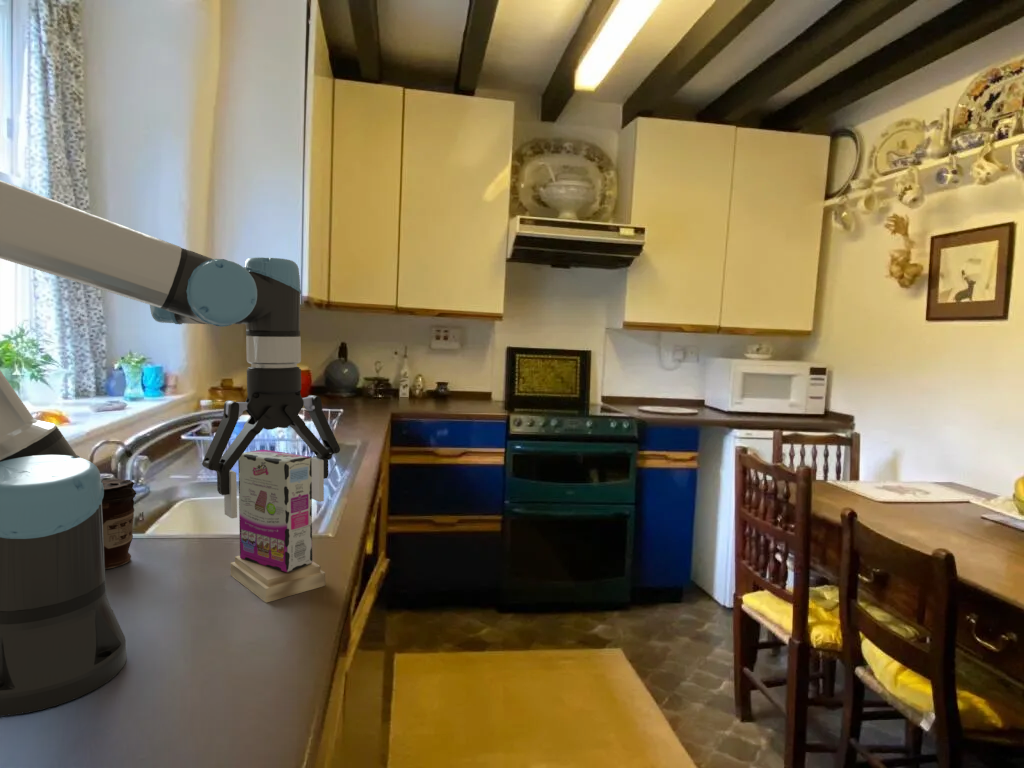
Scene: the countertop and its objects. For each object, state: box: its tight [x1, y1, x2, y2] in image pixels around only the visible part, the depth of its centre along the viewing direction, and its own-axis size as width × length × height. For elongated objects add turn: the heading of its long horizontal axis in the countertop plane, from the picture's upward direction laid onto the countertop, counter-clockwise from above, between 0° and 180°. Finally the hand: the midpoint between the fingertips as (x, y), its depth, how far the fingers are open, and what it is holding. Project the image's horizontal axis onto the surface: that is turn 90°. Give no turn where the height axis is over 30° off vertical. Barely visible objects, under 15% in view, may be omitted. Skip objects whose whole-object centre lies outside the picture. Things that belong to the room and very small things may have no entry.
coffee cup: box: [101, 478, 137, 570], centre depth 103 cm, size 9×8×13 cm
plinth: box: [229, 555, 326, 603], centre depth 98 cm, size 9×13×3 cm
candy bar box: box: [237, 449, 313, 573], centre depth 97 cm, size 11×5×16 cm, turn 59°
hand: (276, 507), depth 97 cm, fingers open, 13 cm apart
